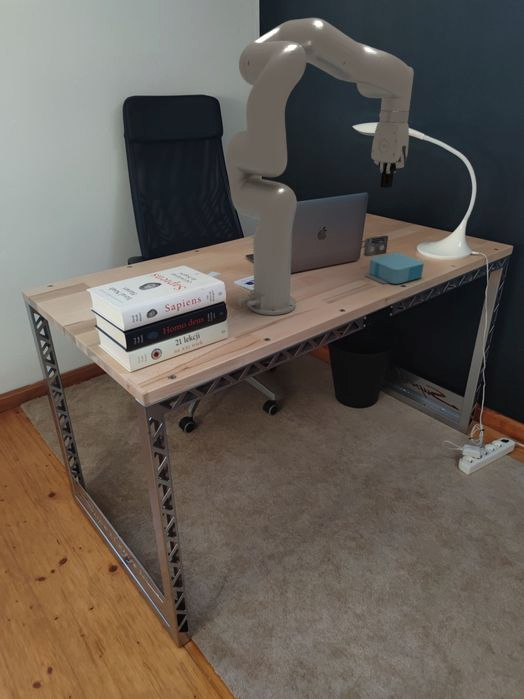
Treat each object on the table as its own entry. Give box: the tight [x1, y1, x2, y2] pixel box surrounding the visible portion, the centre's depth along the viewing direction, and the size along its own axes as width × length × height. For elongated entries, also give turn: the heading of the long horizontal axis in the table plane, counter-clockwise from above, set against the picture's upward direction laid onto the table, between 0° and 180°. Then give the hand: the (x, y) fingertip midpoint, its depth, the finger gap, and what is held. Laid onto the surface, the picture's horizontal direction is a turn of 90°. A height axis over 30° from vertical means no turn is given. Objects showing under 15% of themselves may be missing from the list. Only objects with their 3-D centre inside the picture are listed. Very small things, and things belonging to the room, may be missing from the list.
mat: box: [364, 273, 391, 286], centre depth 154 cm, size 15×8×1 cm, turn 122°
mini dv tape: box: [363, 235, 389, 257], centre depth 171 cm, size 8×2×6 cm, turn 116°
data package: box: [368, 252, 424, 285], centre depth 152 cm, size 12×4×12 cm
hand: (386, 187), depth 147 cm, fingers closed
